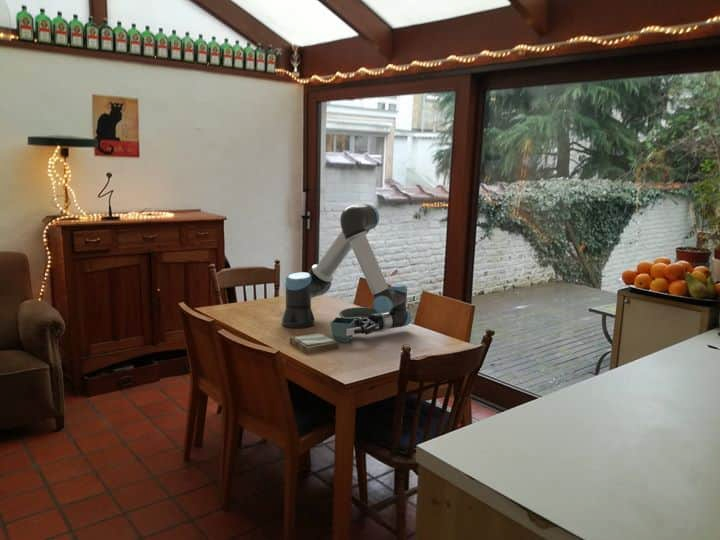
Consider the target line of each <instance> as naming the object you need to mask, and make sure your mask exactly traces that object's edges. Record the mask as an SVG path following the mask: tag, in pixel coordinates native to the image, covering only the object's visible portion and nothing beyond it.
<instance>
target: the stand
mask: <svg viewBox="0 0 720 540" xmlns="http://www.w3.org/2000/svg"><path fill="white" fill-rule="evenodd" d="M289 344H291V345H292V344H293V346H294V345H295V346H294V347H296V348H297V347H298V348H297V349H299V348H300V349H299V350H300V351H302V350H303V351H302V352H304V351H305V352H307V353H311V354H314V353H313V352H316V353H321V352H320V351H322V352H327V351H331V350H337V349H339V342H336V341H335V339H334V338H333V339H332V338H330V337H328V336H327V335H325V334H323V333H321V332H314V333H310V334H309V333H308V334H302V335H301V334H300V335H296V336H290V337H289ZM326 350H327V351H326ZM305 352H304V353H305ZM307 353H306V354H307Z"/></svg>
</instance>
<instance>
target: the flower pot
mask: <svg viewBox="0 0 720 540" xmlns="http://www.w3.org/2000/svg"><path fill="white" fill-rule="evenodd" d="M355 320H356V319H352V318H341V317H340V316H339V317H337V316H336V317H335V318H334V319H332V320H331V321H332V322H331V327H330V328H331V334H332V337H333V340H334V341H336V342H338V343H349V341H350V340H351V339H352V337H353V335H349V336H347V335H346V329H349V328H355Z"/></svg>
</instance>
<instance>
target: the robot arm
mask: <svg viewBox="0 0 720 540" xmlns="http://www.w3.org/2000/svg"><path fill="white" fill-rule="evenodd" d="M339 222H340V228H341V231H340V232H339V234H338V236H337V237H336V238H335V240H334V241H333V242H332V243H331V245H330V247H329V248H328V250H327V251H326V253H324V255H323V257H322V258H321V259H320V260H319V262H318V263H317V264H313V265H312V266H311V268H310V269H309V271H308V272H304V271H298V272H294V273H290V274H288V275H287V276H286V279H285V283H284V286H285V310H284V312H283V315H282V319H281V325H282V326H283V327H286V328H290V329H307V328H311V327H313V326H314V325H315V322H316V320H315V316H314V313H313V309H312V299H313V298H316V297H318V296H319V297H320V296H323V295H324V294H326V293H327V292H328V291H329V290H330V289H331V287H332V281H333V280H334V276H333V275H334V273H335V272H337V269H338V268H339V267H340V266H341V264H342V262H343V261H344V260H345V258H346V257H347V256H348V255H349V253H350V252H351V251H353V253H354V255H355V257H356V260H357V262H358V264H359V267H360V269H361V272H362V273H363V275H364V278H365V280H366V282H367V285H368V287H369V290H370V291H371V293H372V296H373V298H374V300H373V301H372V305H373V306H372V308H374V309H375V310H376V311H377V312H378V313H377V314H371V315H370V316H369V318H368V319H367V318H364V319H363V317H342V318H352V319H356V320H355V325H357V326H358V327H356V328H349V329H346V335H347V336H349V335H352V336H353V335H354V336H355V335H360V334H361V335H362V334H363V335H369V334H371V333H373V332H379V331H386V330H389V329H396V328H403V327H406V326H409V325H410V324H411V322H412V320H413V319H412V315H411V311H410V310H409V309H408V308H407V300H408V299H407V295H408V293H407V292H408V291H407V290H408V289H407V285H406V284H402V283H392V284H391V285H390V286H388V283H387V281H386V279H385V276H384V274H383V272H382V270H381V267H380V264H379V263H378V260H377V258H376V255H375V253H374V251H373V249H372V247H371V244H370V243H369V240H368V237H367V234H368V233H369V232H370V231H371V230H374V229H375V228H376V227H377V226H378V225H379V222H380V214H379V210H378V209H377V207H375V206H374V205H372V204H369V203H362V204H361V203H360V204H353V205H349V206H347V207H346V208H345V209H343V211H342V213H341V215H340V221H339ZM332 321H333V320H329V328H331V322H332ZM359 323H360V325H359Z"/></svg>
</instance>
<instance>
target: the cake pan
mask: <svg viewBox="0 0 720 540" xmlns="http://www.w3.org/2000/svg"><path fill="white" fill-rule="evenodd" d="M377 313H378V312H377V311H376V310H375V309H374V307H367V306H365V307H363V306H362V307H360V306H359V307H349V308H345V309H343V310H340V311H339V312H338V316H339V318H342V317H363V319H364V318H367V319H368V318H369V316H370V315H371V314H377ZM359 325H360V323H359ZM356 327H358V326H357V325H355V328H356Z"/></svg>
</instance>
